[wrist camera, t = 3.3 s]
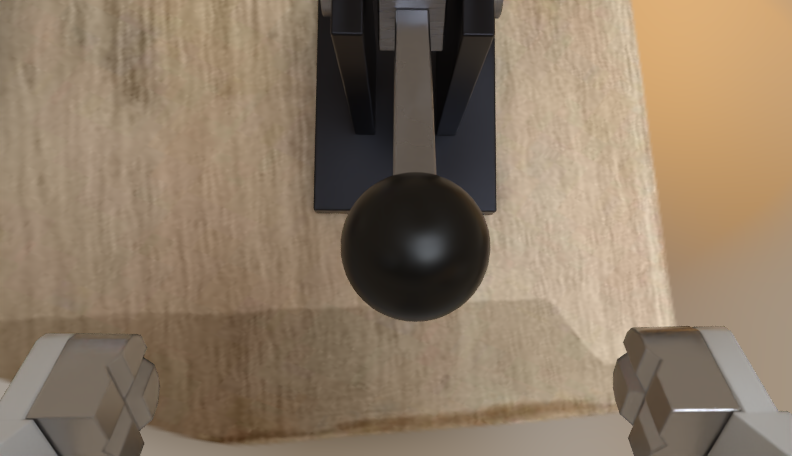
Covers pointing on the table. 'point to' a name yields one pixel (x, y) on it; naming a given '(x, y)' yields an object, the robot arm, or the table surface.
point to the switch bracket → (374, 102)
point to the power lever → (414, 192)
